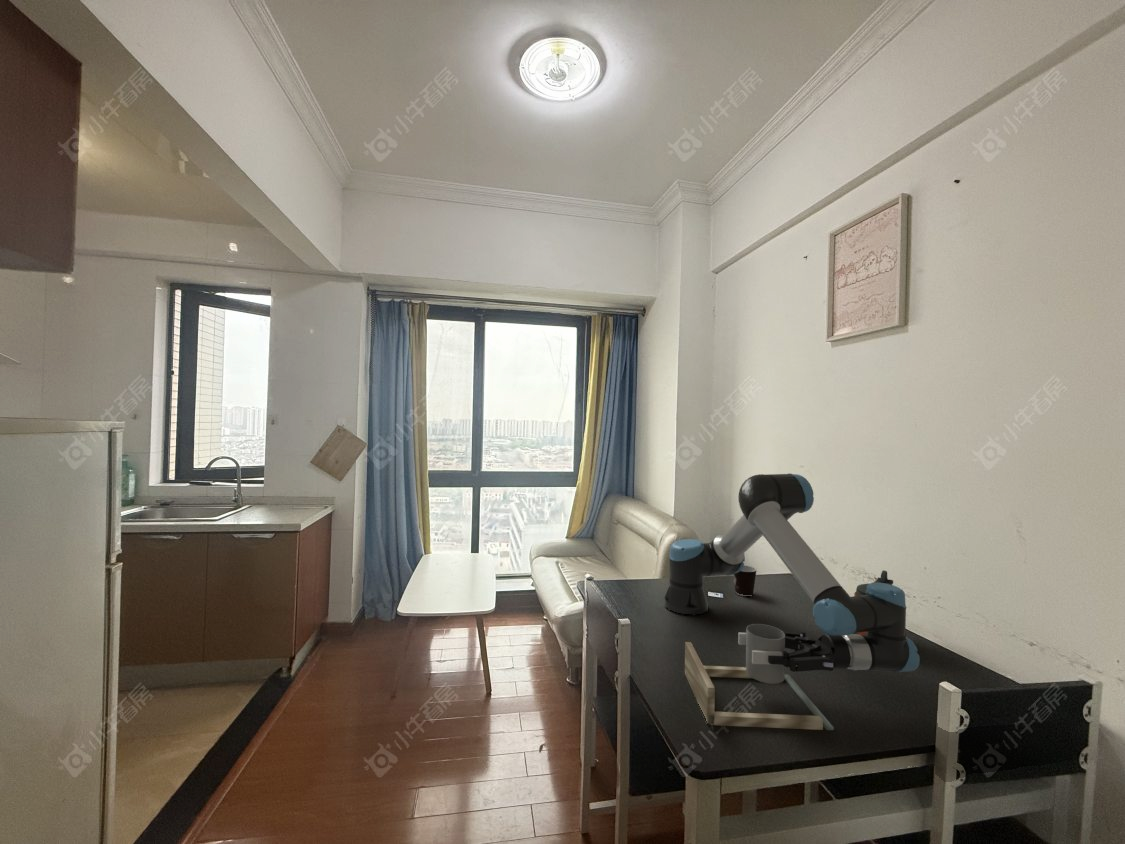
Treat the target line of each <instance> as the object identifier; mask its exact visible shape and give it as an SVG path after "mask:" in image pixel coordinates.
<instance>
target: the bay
mask: <svg viewBox="0 0 1125 844" xmlns="http://www.w3.org/2000/svg"><path fill="white" fill-rule="evenodd" d="M684 674H685V677H686V679H687V682H688V683H689V686H690V688H691V691H692V693H693V695H694V698H695V697H696V698H695V700H696V702H697V704H699V705H698V707H699V706H700V707H699V709H700V708H701V709H700V711H701V710H702V712H703V714H704V716H705V718H706V721H707V723H710V724H713V725H712V726H727V727H750V728H769V729H770V728H771V729H772V728H773V729H791V730H793V729H794V730H795V729H796V730H798V729H799V730H817V731H823V730H824V729H825V730H826V731H834V729H835V728H834V726H833V725H832V724H831V723H830V721H829V720H828V719H827V717H825V716H824V714H823V713H822V712H821V711H820V710H819V709H818V707H817V706H816V705H815V704H814V703H813V701H812V700H811V699H810V698H809V697H808V695H807V694H806V693H805V692H804V691H803V690H802V688H801V687H800V686H799V685H798V684H797V682H796V681H795V680H794V679H793V678H792V677H791V675H790V674H788V673H785V678H784V680H785V681H786V683H787V684H788V685H789V686H790V687H791V688H792V690H793V691H794V692H795V694H796V695H797V696H798V697H799V699H801V701H802V703H804V704H805V706H806V707H807V708H808V709H809V711H810V712H811V713H812V714H813V715H806V714H805V715H802V714H800V715H799V714H781V713H780V714H778V713H759V712H758V713H757V712H756V713H753V712H735V711H734V712H730V711H715V704H716V703H715V702H716V701H715V698H716V697H715V696H716V695H715V693H716V691H715V690H716V688H715V685H714V684H713V682H712V680H711V677H712V678H714V677H715V678H736V679H753V678H752V677H751V676H749V675H748V673H747V672H746V666H745V667H744V666H721V665H704V664H703V663H702V661H701V659H700V657H699V655H698V653H697V651H696V649H695V647H694V645H693V643H692V642H691V641H684ZM702 712H701V713H702ZM703 714H702V715H703ZM704 716H703V717H704ZM706 721H705V722H706ZM707 723H706V724H707Z"/></svg>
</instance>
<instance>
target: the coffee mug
mask: <svg viewBox="0 0 1125 844" xmlns="http://www.w3.org/2000/svg"><path fill="white" fill-rule="evenodd" d="M732 575H733V583H734V591H736V592H737V593H739V594H743V595H753V596H754V590H755V583H756V578H757V577H756V575H757V569H756V568H755V567H753V566H751V565H745V564H744V566H743V568H742V569H741V571H739V572H738V573H736V574H732Z"/></svg>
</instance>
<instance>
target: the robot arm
mask: <svg viewBox="0 0 1125 844" xmlns="http://www.w3.org/2000/svg"><path fill="white" fill-rule="evenodd" d="M814 495H815V494H814V489H813V487H812V485H811V483H810V482H809V480H807V478H805V477H804V476H803V475H800V474H793V473H778V474H777V473H776V474H775V473H774V474H770V473H769V474H762V473H761V474H755V475H751V476H750V477H748V478H747V479H745V480H744V482H743V483H742V484H741V486H740V488H739V491H738V505H739V508H740V510H741V512H742V514H743V515H742V516H740V517H739V518H738V520H737V521H736V522H735V523H734V524H733V525H732V526H731V527H730V528H729V530H727V531H726V532H725V533H723V534H722V533H721V534H718V535H716V537H715V538H714V539H712V541H710V542H704V543H703V541H701V540H699V539H695V538H690V539H689V538H685V539H683V538H682V539H678V540H676V541H674V542H672V544H671V545H670V547H669V555H668V557H669V573H668V575H669V578H668V579H669V581H668V583H669V584H668V586H667V590H666V592H665V595H664V599H663V605H665V606H666V607H667V608H668V609H670V610H672V611H674V612H673V613H675V612H677V613H676V614H678V613H682V614H681V615H683V614H701V613H704V612H706V611H707V612H708V610H709V609H708V599H707V597H706V596H707V595H706V594H705V591H704V582H703V581H704V578H708V577H718V576H732V575H733V574H736V573H738V572H739V571H741V569H742V568H743V566H744V565H745V563H744V562H746V561H745V560H746V557H745V552H747V551H748V550H749V549H750V548H751V547H752V546H753V545H754V544H755V543H757V541H759V540H760V539H761V537H764V538H765V540H766V541H767V542H768V544H769V545H770V547H771V548H772V549H773V550H774V552H775V554H776V555H777V556H778V557H779V558H780V560H781V561H782V562H783V564H784V565H785V567H786V568H787V569H788V570H789V572H790V574H792V576H793V577H794V578H795V580H796V582H798V584H799V585H800V587H801V588H802V589H803V591H804V592H805V593H806V594H807V596H808V597H809V599H810V600H811V601H812V602H813V604H814V605H813V607H812V616H813V617H814V620H815V624H816V625H817V627H818V628H819V629H820V630H821V631H822V632H823V633H822V634H821V635H820V637H819V638H818V639H816V638H812V637H807V633H806V632H804V631H803V632H802V631H801V632H799V631H798V632H797V631H796V632H793V631H788V630H782V631H783V633H784V634H785V649H788V650H792V651H791V652H787V651H786V650H785V651H784V654H783V656H782V652H781V651H757V650H752V663H753V664H768V665H783V666H785V668H789V671H791V672H794V673H795V672H796V673H797V672H810V671H831V672H832V671H834V670H853V671H856V672H858V670H859V671H863V670H864V671H876V672H877V671H880V672H891V673H893V672H894V673H902V672H904V673H905V672H906V673H907V672H914V671H915V670H917V669H918V668H919V666H920V662H921V661H920V660H921V659H920V655H919V654H918V647H917V646H916V645H915V642H914V641H913V640H912V639H910V638H909V637H908V636H907V637H905V632H906V627H907V626H906V625H907V623H906V621H907V620H906V619H907V618H906V617H907V604H906V594H905V592H904V591H903V589H902V588H900V587H898V586H897V585H893V584H892V585H890V584H885V583H877V582H875V581H874V582H875V583H874V582H870V583H868V584H869V585H867V590H866V595H862V596H854V595H853V596H850V594H849V593H848V592H847V591H846V590H845V589H844V587H843V586H842V585H841V584H840V583H839V581H838V580H837V578H836V577H835V576H834V575H833V574H832V573H831V571H830V570H829V569H828V568H827V567H826V566H825V564H824V563H823V561H821V559H820V558H819V557H818V556H817V555H816V553H815V552H814V551H813V550H812V549H811V547H810V546H809V545H808V543H807V542H806V541H805V540H804V538H803V537H802V536H801V535H800V534H799V533H798V531H797V530H796V528H794V526H792V524H791V522H790V521H789V519H790V518H791V517H793V516H794V515H796V514H797V513H798V514H802V513H806V512H808V511H810V509H812V506H813V505H814V501H815V500H814V499H815V497H814ZM665 606H664V607H665ZM666 607H665V608H666ZM667 608H666V609H667ZM668 609H667V610H668ZM670 610H669V611H670ZM672 611H671V612H672ZM707 612H706V613H707ZM704 614H705V613H704ZM701 615H702V614H701ZM865 631H866V632H867V634H866V635H860V634H853V633H859V632H865ZM737 633H738V634H737V635H738V638H737V644H738V645H739V646H746V632H740V631H739V632H737ZM793 650H794V651H793Z"/></svg>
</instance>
